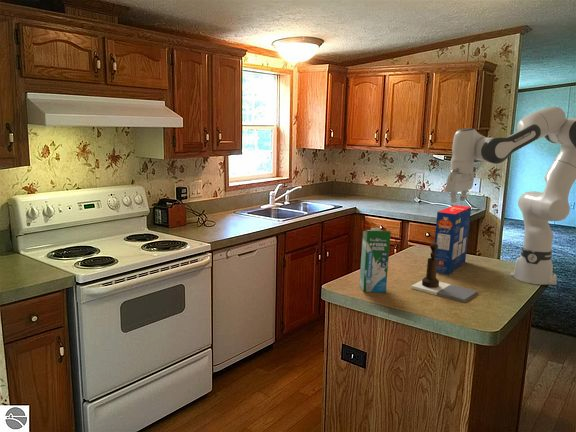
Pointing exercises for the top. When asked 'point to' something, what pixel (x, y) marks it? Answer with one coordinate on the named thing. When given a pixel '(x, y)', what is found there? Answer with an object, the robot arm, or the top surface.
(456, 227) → the pasta box
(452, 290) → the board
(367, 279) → the milk carton
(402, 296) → the top surface
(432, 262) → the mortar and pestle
